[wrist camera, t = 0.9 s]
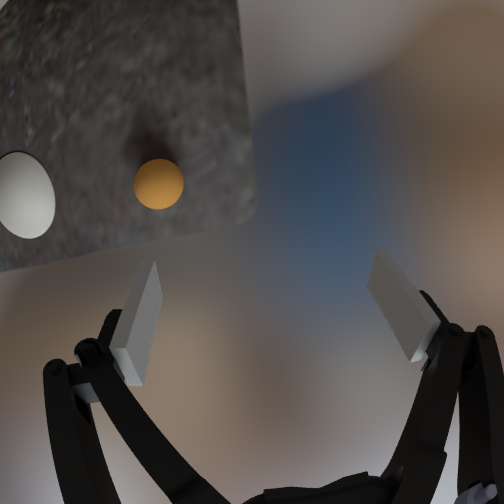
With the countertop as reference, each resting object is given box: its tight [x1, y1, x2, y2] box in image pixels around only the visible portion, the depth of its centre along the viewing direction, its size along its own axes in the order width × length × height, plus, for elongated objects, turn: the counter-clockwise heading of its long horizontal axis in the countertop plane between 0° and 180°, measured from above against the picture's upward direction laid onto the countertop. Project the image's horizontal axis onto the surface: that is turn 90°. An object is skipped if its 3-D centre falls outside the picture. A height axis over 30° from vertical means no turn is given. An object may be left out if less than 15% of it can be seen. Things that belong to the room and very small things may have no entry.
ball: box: [134, 159, 184, 209], centre depth 31 cm, size 6×6×6 cm
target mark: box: [0, 152, 55, 238], centre depth 31 cm, size 13×13×1 cm
